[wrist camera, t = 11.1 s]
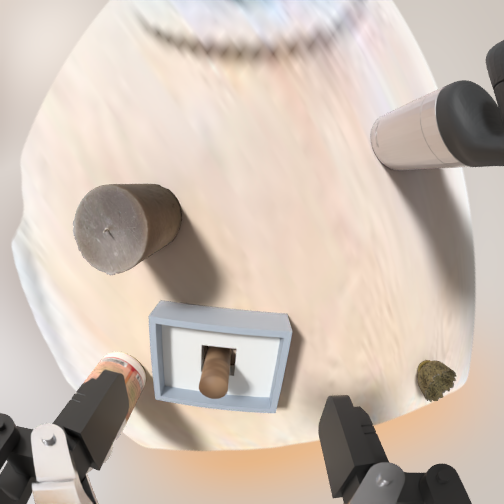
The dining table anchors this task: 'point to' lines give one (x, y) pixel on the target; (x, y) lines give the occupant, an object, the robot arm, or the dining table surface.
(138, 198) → the pillar candle
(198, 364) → the box
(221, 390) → the peg
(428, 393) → the mottled brown rounded lump
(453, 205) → the dining table surface
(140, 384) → the fruit juice
